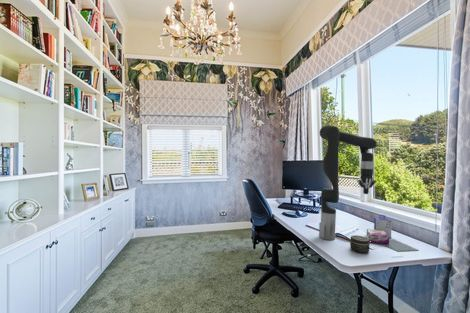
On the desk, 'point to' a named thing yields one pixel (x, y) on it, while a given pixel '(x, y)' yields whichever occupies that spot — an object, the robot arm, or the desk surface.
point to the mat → (399, 246)
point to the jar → (359, 244)
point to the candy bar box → (377, 236)
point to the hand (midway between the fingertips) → (365, 193)
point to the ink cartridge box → (383, 224)
